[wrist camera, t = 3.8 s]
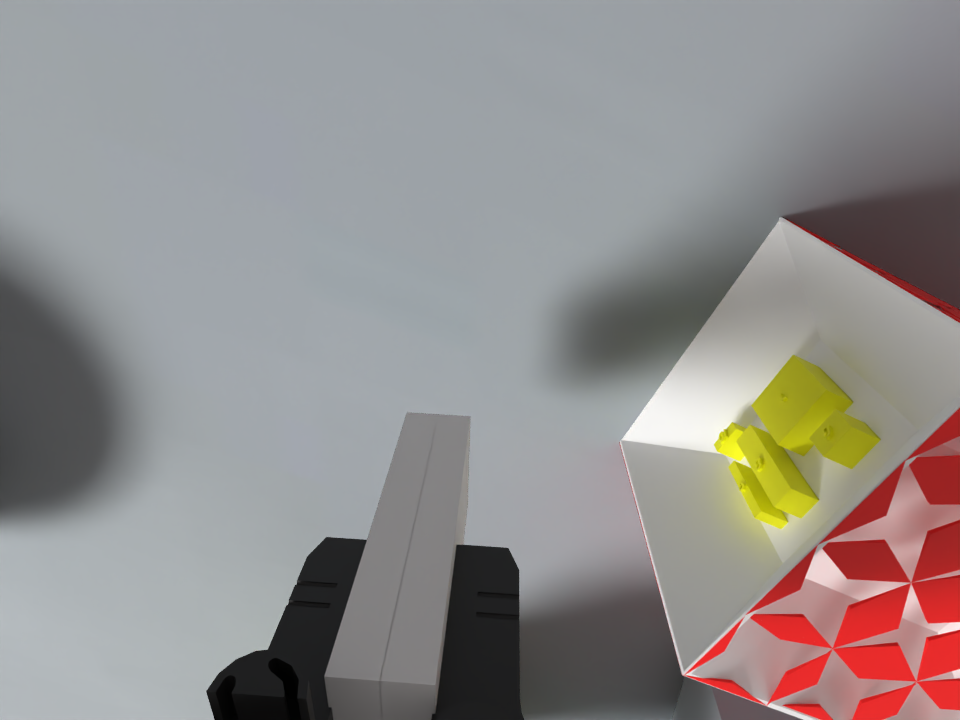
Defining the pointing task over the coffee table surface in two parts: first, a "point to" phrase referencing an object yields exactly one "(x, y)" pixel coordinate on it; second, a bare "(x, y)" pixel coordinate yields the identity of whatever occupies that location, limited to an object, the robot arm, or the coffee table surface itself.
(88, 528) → the coffee table surface
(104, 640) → the coffee table surface
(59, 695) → the coffee table surface
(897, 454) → the puzzle cube
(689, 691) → the slate grey block
